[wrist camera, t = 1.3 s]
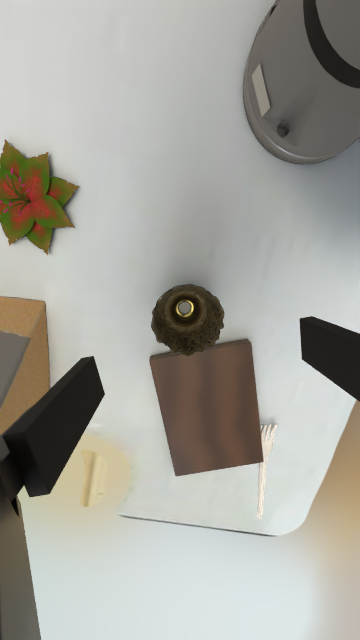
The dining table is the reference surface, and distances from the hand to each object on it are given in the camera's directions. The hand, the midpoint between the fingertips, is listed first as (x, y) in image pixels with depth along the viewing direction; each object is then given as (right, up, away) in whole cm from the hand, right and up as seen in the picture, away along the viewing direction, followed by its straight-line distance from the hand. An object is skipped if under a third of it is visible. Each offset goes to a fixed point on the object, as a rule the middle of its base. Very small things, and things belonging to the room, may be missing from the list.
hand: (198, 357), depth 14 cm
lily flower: (-19, +17, +13) cm, 28 cm away
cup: (-1, +4, +16) cm, 17 cm away
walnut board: (+3, -11, +20) cm, 23 cm away
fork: (+12, -22, +23) cm, 35 cm away
